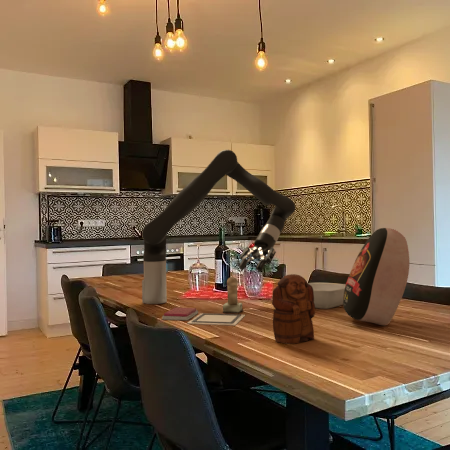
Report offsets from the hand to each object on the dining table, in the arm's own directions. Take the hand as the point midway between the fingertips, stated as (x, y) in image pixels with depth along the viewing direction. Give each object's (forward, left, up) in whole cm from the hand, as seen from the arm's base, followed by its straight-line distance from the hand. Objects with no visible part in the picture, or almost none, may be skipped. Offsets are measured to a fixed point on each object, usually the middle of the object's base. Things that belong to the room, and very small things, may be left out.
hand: (249, 269), depth 176 cm
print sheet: (-7, -24, -15) cm, 29 cm away
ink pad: (-21, -21, -15) cm, 33 cm away
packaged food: (+44, -20, -15) cm, 50 cm away
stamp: (-5, -9, -15) cm, 18 cm away
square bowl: (+26, +9, -15) cm, 32 cm away
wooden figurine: (+21, -47, -15) cm, 53 cm away
